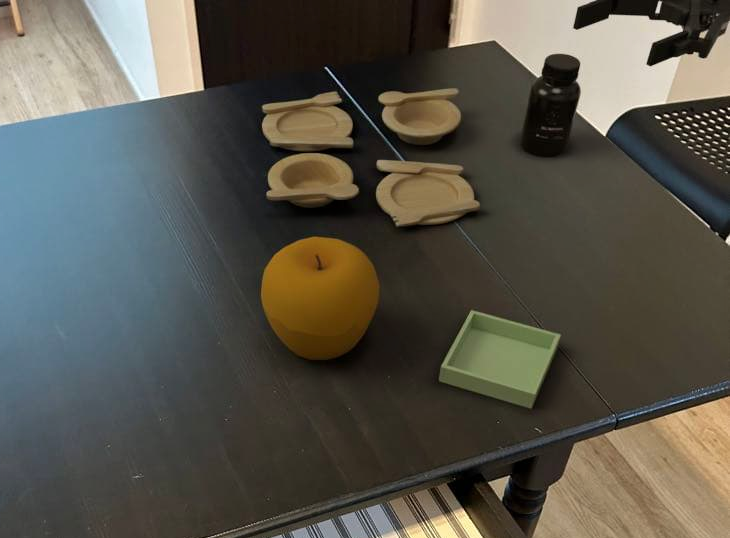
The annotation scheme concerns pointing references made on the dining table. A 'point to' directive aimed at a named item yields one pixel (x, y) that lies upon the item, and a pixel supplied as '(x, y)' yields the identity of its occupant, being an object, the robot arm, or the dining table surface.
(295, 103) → the tableware set
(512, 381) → the tray
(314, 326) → the apple
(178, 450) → the dining table surface
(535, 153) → the supplement bottle
